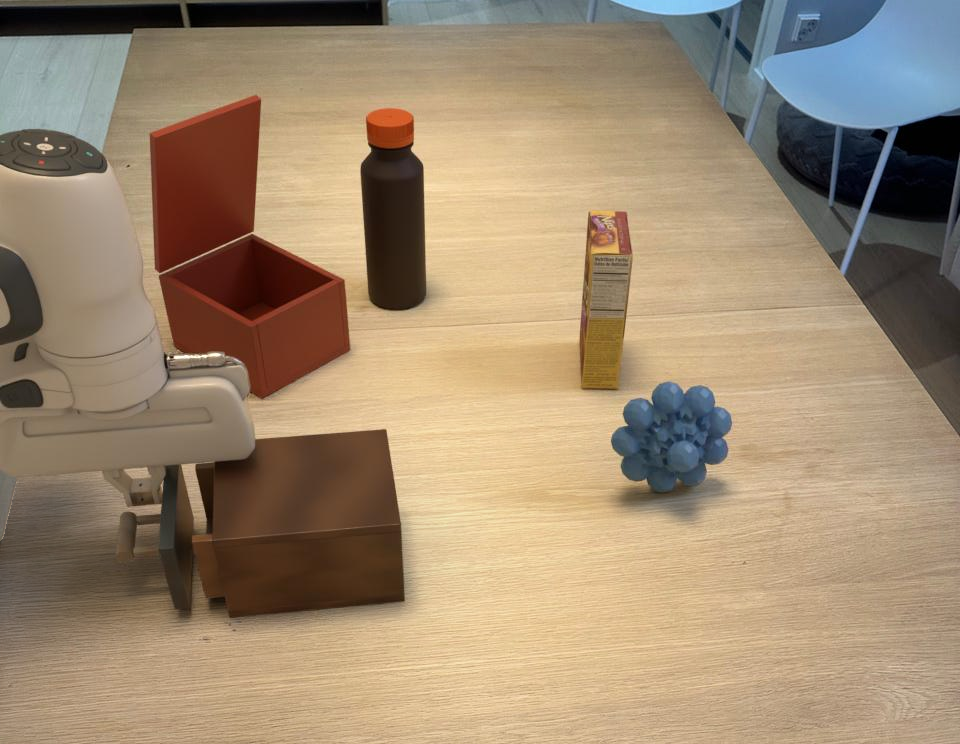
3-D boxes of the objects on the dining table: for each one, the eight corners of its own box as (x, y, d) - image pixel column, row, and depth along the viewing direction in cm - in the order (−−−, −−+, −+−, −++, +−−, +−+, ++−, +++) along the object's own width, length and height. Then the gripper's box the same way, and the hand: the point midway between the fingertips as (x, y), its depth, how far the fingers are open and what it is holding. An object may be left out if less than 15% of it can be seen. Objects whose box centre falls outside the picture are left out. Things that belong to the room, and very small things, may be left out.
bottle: (372, 313, 120) (361, 132, 106) (364, 283, 125) (352, 106, 110) (431, 307, 121) (428, 128, 107) (421, 278, 126) (416, 102, 111)
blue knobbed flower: (618, 528, 96) (635, 419, 87) (595, 482, 100) (609, 373, 92) (737, 510, 98) (765, 401, 89) (710, 466, 102) (734, 358, 94)
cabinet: (229, 617, 88) (212, 540, 81) (230, 518, 96) (214, 441, 90) (405, 601, 89) (401, 524, 83) (390, 505, 98) (386, 428, 91)
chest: (350, 349, 115) (344, 279, 109) (262, 399, 109) (250, 327, 103) (262, 302, 122) (252, 233, 116) (173, 346, 115) (158, 275, 109)
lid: (261, 98, 102) (256, 94, 102) (155, 137, 96) (149, 132, 96) (254, 231, 115) (249, 227, 115) (159, 273, 109) (154, 269, 109)
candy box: (575, 343, 117) (588, 208, 106) (614, 344, 117) (631, 209, 106) (577, 389, 111) (590, 251, 100) (618, 391, 111) (636, 253, 100)
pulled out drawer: (122, 615, 86) (102, 553, 81) (132, 523, 94) (114, 462, 89) (339, 594, 88) (332, 533, 83) (332, 506, 96) (325, 446, 91)
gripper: (244, 328, 83) (267, 468, 93) (-26, 346, 81) (28, 487, 91) (244, 373, 79) (269, 514, 89) (-41, 393, 77) (17, 536, 87)
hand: (145, 501), depth 90 cm, fingers closed
